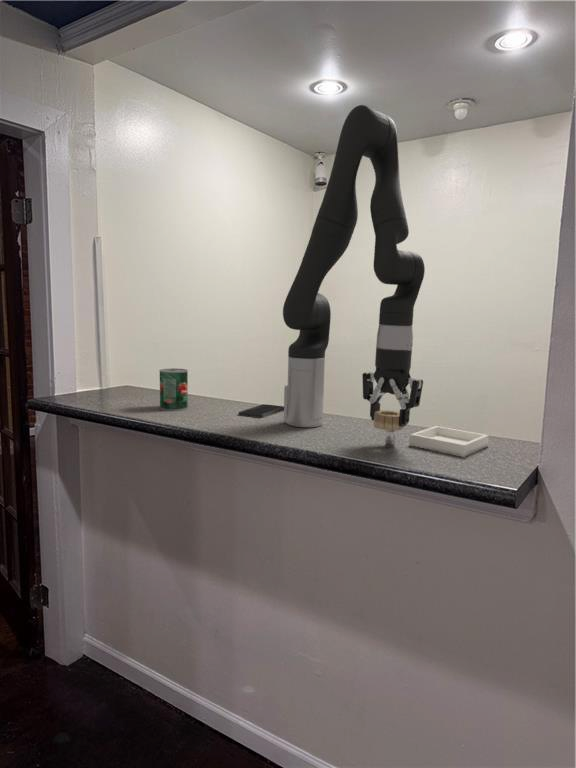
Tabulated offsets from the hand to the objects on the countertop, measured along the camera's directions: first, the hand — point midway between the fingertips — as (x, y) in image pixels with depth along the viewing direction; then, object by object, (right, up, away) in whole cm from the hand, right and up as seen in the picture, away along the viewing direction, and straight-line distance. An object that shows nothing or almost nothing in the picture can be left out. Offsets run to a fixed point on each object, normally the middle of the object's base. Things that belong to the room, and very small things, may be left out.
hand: (388, 422), depth 117 cm
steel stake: (0, -5, +1) cm, 5 cm away
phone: (-29, 0, +35) cm, 45 cm away
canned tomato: (-55, +1, +37) cm, 66 cm away
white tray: (+14, -5, +2) cm, 15 cm away
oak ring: (0, -1, 0) cm, 1 cm away
